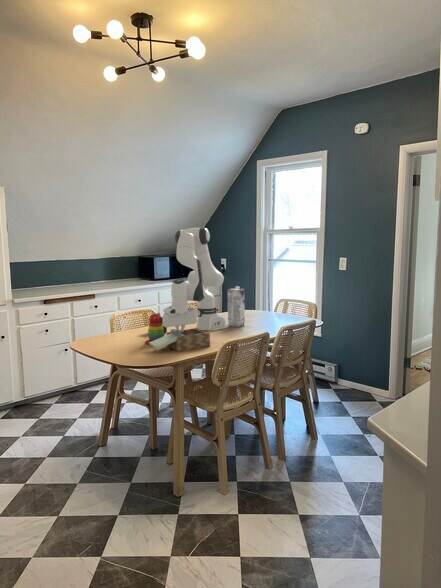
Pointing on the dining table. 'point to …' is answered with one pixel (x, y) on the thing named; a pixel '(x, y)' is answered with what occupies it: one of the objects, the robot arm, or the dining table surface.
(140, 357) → the dining table surface
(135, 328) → the dining table surface
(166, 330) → the black flat block
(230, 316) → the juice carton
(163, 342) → the cover plate
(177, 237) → the robot arm
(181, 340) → the walnut box
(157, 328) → the stacking bear
